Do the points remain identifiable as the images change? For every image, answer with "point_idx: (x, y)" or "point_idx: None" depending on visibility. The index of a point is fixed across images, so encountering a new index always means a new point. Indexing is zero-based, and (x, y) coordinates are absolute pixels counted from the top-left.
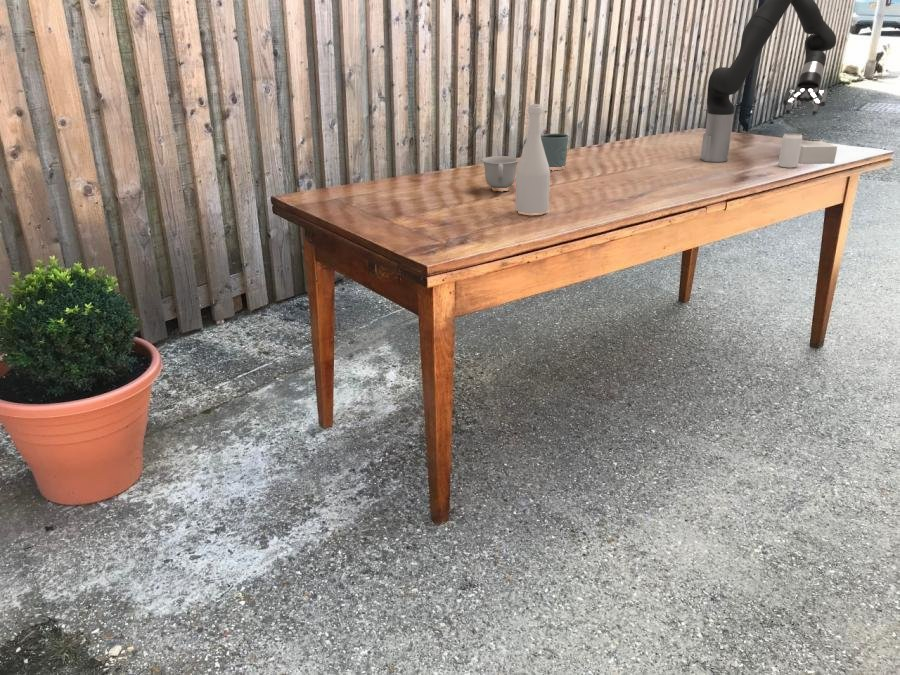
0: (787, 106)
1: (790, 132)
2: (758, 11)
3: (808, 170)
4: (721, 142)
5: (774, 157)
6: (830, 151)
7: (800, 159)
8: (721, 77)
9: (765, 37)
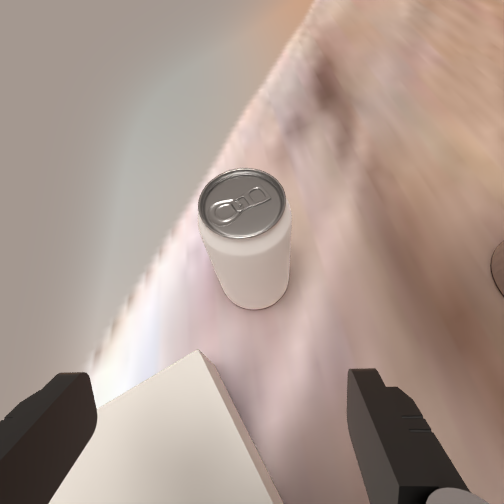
0: (423, 436)
1: (262, 233)
2: None
3: (183, 245)
4: None
5: (360, 496)
6: None
7: (217, 375)
8: None
9: None
